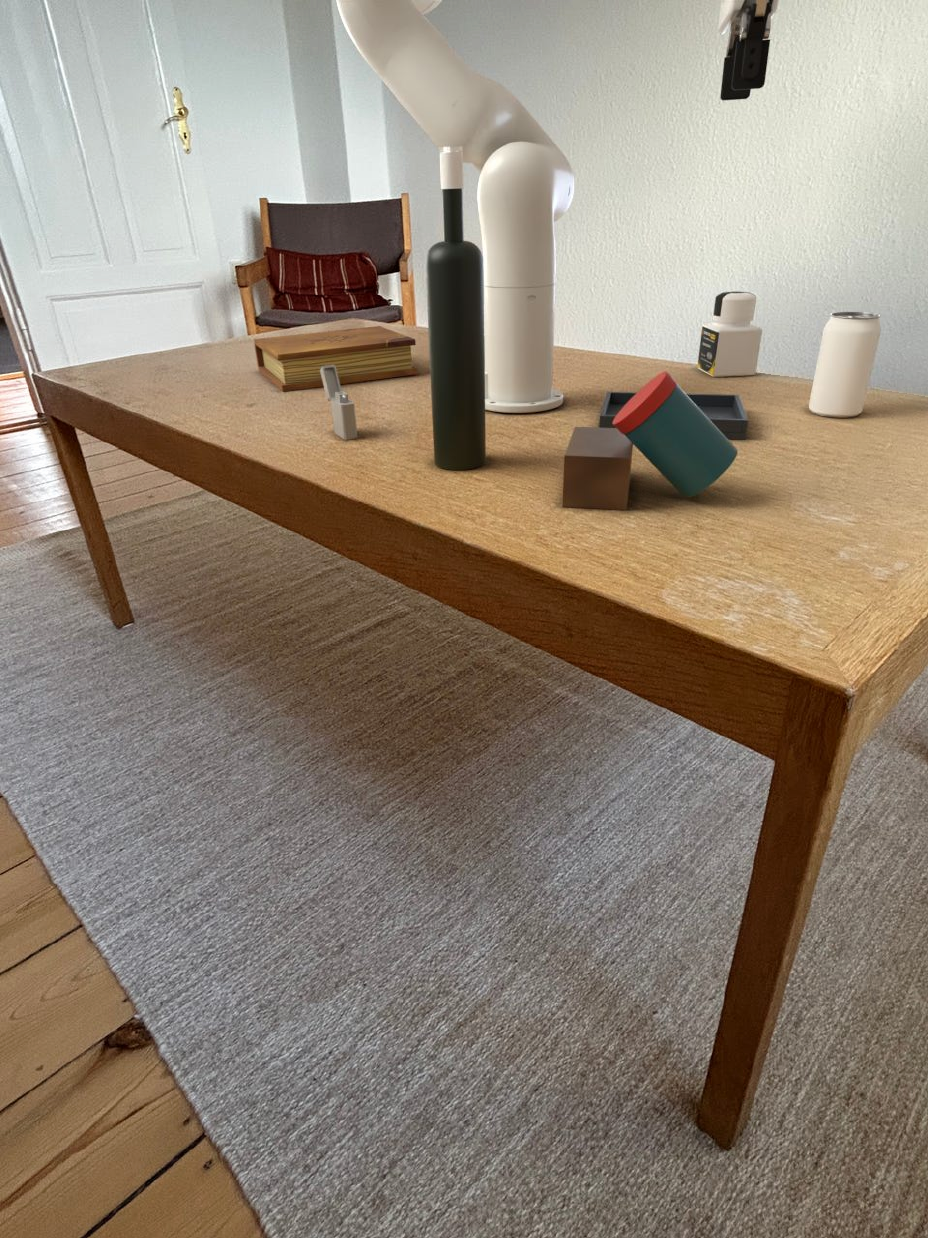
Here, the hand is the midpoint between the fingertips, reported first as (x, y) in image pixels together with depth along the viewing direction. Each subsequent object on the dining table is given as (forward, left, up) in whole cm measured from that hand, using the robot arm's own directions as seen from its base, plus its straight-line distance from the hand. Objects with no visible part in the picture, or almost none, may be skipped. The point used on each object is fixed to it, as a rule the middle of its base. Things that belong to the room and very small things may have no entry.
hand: (740, 94), depth 82 cm
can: (+17, +4, -35) cm, 39 cm away
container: (-4, -31, -35) cm, 47 cm away
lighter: (-45, -14, -35) cm, 59 cm away
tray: (-4, -4, -35) cm, 35 cm away
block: (-11, -31, -35) cm, 48 cm away
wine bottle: (-27, -24, -35) cm, 51 cm away
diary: (-60, +22, -35) cm, 73 cm away
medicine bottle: (+5, +29, -35) cm, 46 cm away
